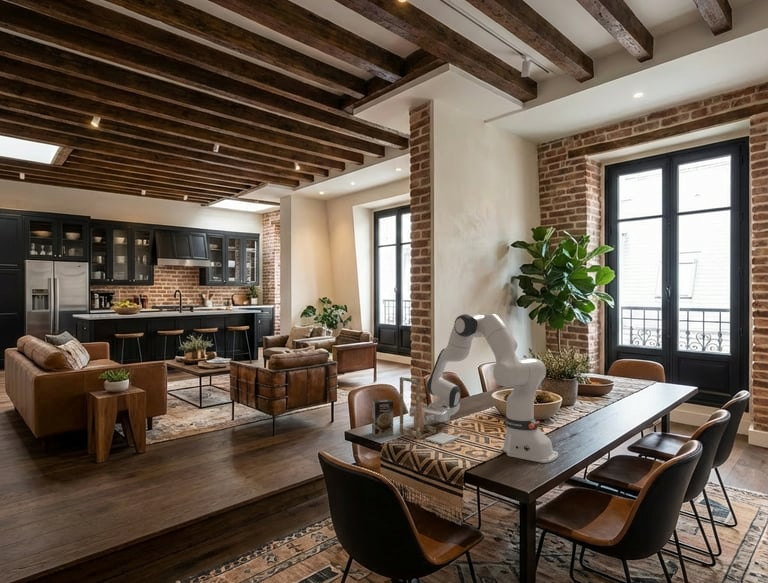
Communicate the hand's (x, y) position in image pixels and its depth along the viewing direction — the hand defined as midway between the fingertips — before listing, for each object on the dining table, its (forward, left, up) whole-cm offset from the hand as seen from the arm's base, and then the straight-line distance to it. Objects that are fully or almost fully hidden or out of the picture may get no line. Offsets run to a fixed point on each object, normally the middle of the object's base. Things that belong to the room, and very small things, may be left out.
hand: (418, 416), depth 221 cm
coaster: (-14, -1, -8) cm, 16 cm away
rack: (0, -1, -8) cm, 8 cm away
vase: (0, -1, -8) cm, 8 cm away
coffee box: (+11, +12, -8) cm, 19 cm away
